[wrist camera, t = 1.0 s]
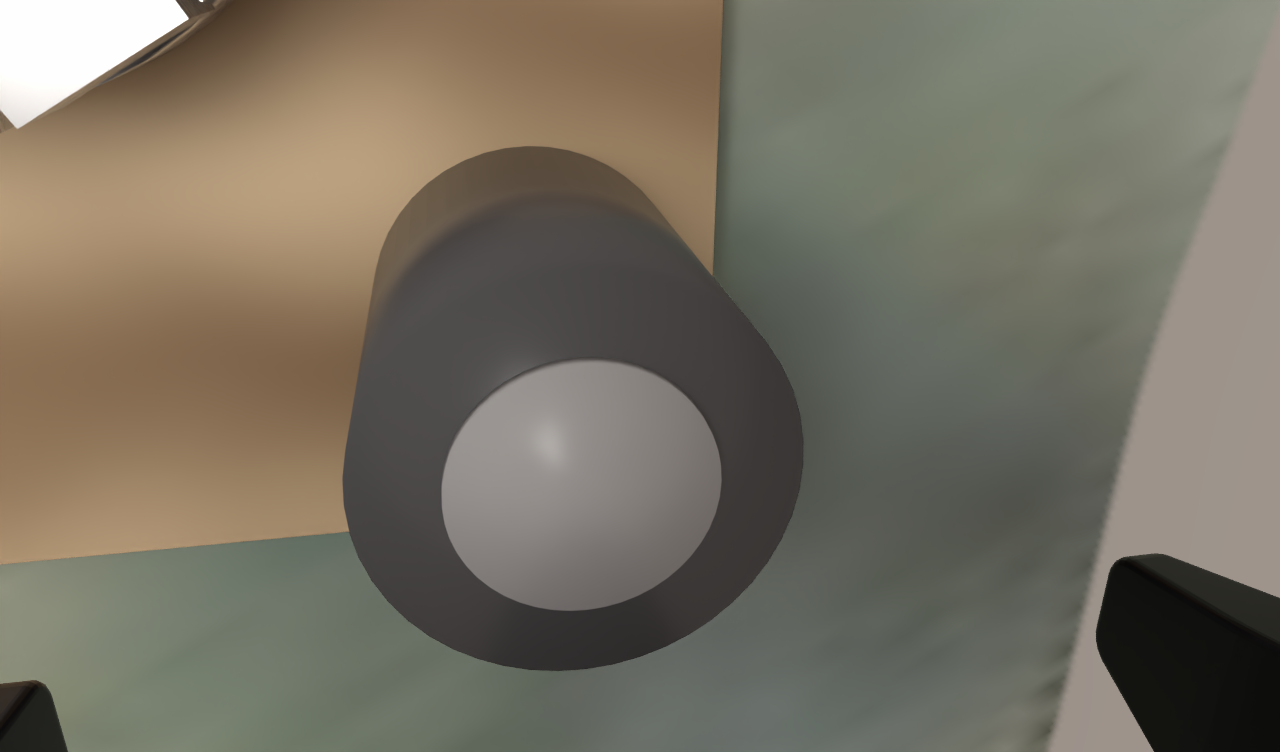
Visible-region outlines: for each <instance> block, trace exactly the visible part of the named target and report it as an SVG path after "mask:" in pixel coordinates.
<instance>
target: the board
mask: <svg viewBox="0 0 1280 752" xmlns="http://www.w3.org/2000/svg"><path fill="white" fill-rule="evenodd" d="M722 16H723V0H233V1H232V2H231V3H230V4H229V5H228V6H227V7H226V8H225V9H224V10H223V11H222V12H221V13H220V14H219V15H218V16H217V17H216V18H215V19H214V20H213V21H212V22H210V23H209V24H208V25H206V26H205V27H204V28H202V29H201V30H200V31H198V32H197V33H196V34H194V35H193V36H192V37H191V38H189V39H188V40H187V41H185V42H184V43H183V44H181V45H180V46H178V47H176V48H174V49H172V50H171V51H169V52H167V53H165V54H163V55H161V56H160V57H158V58H156V59H154V60H152V61H150V62H149V63H147V64H145V65H143V66H141V67H139V68H137V69H135V70H132V71H130V72H128V73H126V74H124V75H121V76H119V77H117V78H115V79H113V80H111V81H108V82H106V83H104V84H102V85H100V86H97V87H94V88H93V89H91V90H90V91H88V92H87V93H85V94H84V95H82V96H80V97H79V98H77V99H76V100H74V101H73V102H71V103H70V104H68V105H66V106H65V107H63V108H61V109H59V110H57V111H55V112H53V113H51V114H48V115H46V116H44V117H42V118H40V119H38V120H36V121H34V122H32V123H29V124H27V125H25V126H23V127H21V128H19V129H17V128H16V127H13V128H11V129H9V130H7V131H5V132H2V133H0V564H9V563H20V562H31V561H41V560H52V559H63V558H73V557H84V556H95V555H105V554H116V553H127V552H137V551H148V550H159V549H169V548H180V547H191V546H201V545H212V544H223V543H233V542H244V541H255V540H265V539H276V538H287V537H297V536H308V535H319V534H329V533H340V532H349V529H348V524H347V519H346V514H345V510H344V501H343V482H342V477H343V467H344V457H345V449H346V443H347V437H348V431H349V425H350V419H351V413H352V407H353V401H354V395H355V389H356V383H357V377H358V371H359V366H360V360H361V354H362V348H363V342H364V336H365V330H366V324H367V318H368V312H369V306H370V300H371V294H372V288H373V282H374V276H375V271H376V267H377V263H378V259H379V255H380V251H381V249H382V246H383V244H384V241H385V239H386V237H387V234H388V232H389V230H390V229H391V227H392V225H393V224H394V222H395V220H396V218H397V217H398V215H399V214H400V212H401V211H402V210H403V209H404V207H405V206H406V205H407V204H408V202H409V201H410V200H411V199H412V197H414V196H415V195H416V194H417V193H418V192H419V191H420V190H421V189H422V188H423V187H424V186H425V185H426V184H427V183H428V182H430V181H431V180H433V179H434V178H435V177H437V176H438V175H440V174H441V173H442V172H444V171H445V170H447V169H449V168H451V167H453V166H455V165H456V164H458V163H460V162H462V161H464V160H467V159H469V158H472V157H475V156H477V155H480V154H483V153H486V152H490V151H495V150H499V149H503V148H511V147H522V146H539V147H552V148H558V149H564V150H569V151H573V152H576V153H579V154H582V155H586V156H589V157H591V158H593V159H595V160H598V161H600V162H602V163H604V164H606V165H608V166H610V167H611V168H613V169H614V170H616V171H618V172H619V173H621V174H622V175H624V176H625V177H627V178H628V179H629V180H630V181H631V182H632V183H634V184H635V185H636V186H637V187H638V188H639V189H641V190H642V192H643V193H644V194H645V195H646V196H647V197H648V198H649V199H650V201H651V202H652V203H653V204H654V205H655V206H656V208H657V209H658V210H659V211H660V212H661V214H662V215H663V216H664V217H665V219H666V220H667V221H668V222H669V224H670V225H671V226H672V227H673V228H674V230H675V231H676V232H677V233H678V235H679V236H680V237H681V238H682V239H683V241H684V242H685V243H686V244H687V246H688V247H689V248H690V249H691V250H692V252H693V253H694V254H695V255H696V257H697V258H698V259H699V260H700V262H701V263H702V264H703V265H704V266H705V268H706V269H707V270H708V271H709V273H710V274H711V275H712V276H713V257H714V230H715V203H716V177H717V150H718V123H719V96H720V70H721V43H722Z"/></svg>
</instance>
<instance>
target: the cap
mask: <svg viewBox="0 0 1280 752" xmlns="http://www.w3.org/2000/svg"><path fill="white" fill-rule="evenodd" d="M802 469H803V434H802V426H801V419H800V413H799V409H798V406H797V402H796V399H795V396H794V392H793V389H792V387H791V385H790V382H789V380H788V378H787V376H786V374H785V372H784V369H783V367H782V365H781V364H780V362H779V361H778V359H777V357H776V356H775V354H774V353H773V351H772V350H771V348H770V347H769V345H768V344H767V342H766V341H765V340H764V339H763V337H762V336H761V335H760V334H759V333H758V331H757V330H756V329H755V328H754V326H753V325H752V324H751V323H750V322H749V320H748V319H747V318H746V317H745V315H744V314H743V313H742V312H741V311H740V309H739V308H738V307H737V306H736V304H735V303H734V302H733V301H732V300H731V298H730V297H729V296H728V295H727V293H726V292H725V291H724V290H723V288H722V287H721V286H720V285H719V284H718V282H717V281H716V280H715V279H714V277H713V276H712V275H711V274H710V273H709V271H708V270H707V269H706V268H705V266H704V265H703V264H702V263H701V262H700V260H699V259H698V258H697V257H696V255H695V254H694V253H693V252H692V250H691V249H690V248H689V247H688V246H687V244H686V243H685V242H684V241H683V239H682V238H681V237H680V236H679V235H678V233H677V232H676V231H675V230H674V228H673V227H672V226H671V225H670V224H669V222H668V221H667V220H666V219H665V217H664V216H663V215H662V214H661V212H660V211H659V210H658V209H657V208H656V206H655V205H654V204H653V203H652V202H651V201H650V199H649V198H648V197H647V196H646V195H645V194H644V193H643V192H642V190H641V189H639V188H638V187H637V186H636V185H635V184H634V183H632V182H631V181H630V180H629V179H628V178H627V177H625V176H624V175H622V174H621V173H619V172H618V171H616V170H614V169H613V168H611V167H610V166H608V165H606V164H604V163H602V162H600V161H598V160H595V159H593V158H591V157H589V156H586V155H582V154H579V153H576V152H573V151H569V150H564V149H558V148H552V147H539V146H522V147H511V148H503V149H499V150H495V151H490V152H486V153H483V154H480V155H477V156H475V157H472V158H469V159H467V160H464V161H462V162H460V163H458V164H456V165H455V166H453V167H451V168H449V169H447V170H445V171H444V172H442V173H441V174H440V175H438V176H437V177H435V178H434V179H433V180H431V181H430V182H428V183H427V184H426V185H425V186H424V187H423V188H422V189H421V190H420V191H419V192H418V193H417V194H416V195H415V196H414V197H412V199H411V200H410V201H409V202H408V204H407V205H406V206H405V207H404V209H403V210H402V211H401V212H400V214H399V215H398V217H397V218H396V220H395V222H394V224H393V225H392V227H391V229H390V230H389V232H388V234H387V237H386V239H385V241H384V244H383V246H382V249H381V251H380V255H379V259H378V263H377V267H376V271H375V276H374V282H373V288H372V294H371V300H370V306H369V312H368V318H367V324H366V330H365V336H364V342H363V348H362V354H361V360H360V366H359V371H358V377H357V383H356V389H355V395H354V401H353V407H352V413H351V419H350V425H349V431H348V437H347V443H346V449H345V457H344V467H343V477H342V482H343V501H344V510H345V514H346V519H347V524H348V529H349V533H350V536H351V538H352V541H353V544H354V546H355V549H356V551H357V554H358V557H359V559H360V561H361V562H362V564H363V566H364V568H365V569H366V571H367V573H368V575H369V576H370V578H371V580H372V582H373V583H374V584H375V585H376V587H377V588H378V589H379V591H380V592H381V593H382V594H383V596H384V597H385V598H386V599H387V601H388V602H389V603H390V604H391V605H392V606H393V607H394V608H395V609H396V610H397V611H398V612H399V613H400V614H402V615H403V616H404V617H405V618H406V619H407V620H408V621H409V622H411V623H412V624H413V625H415V626H416V627H417V628H419V629H420V630H422V631H423V632H424V633H426V634H427V635H428V636H430V637H432V638H434V639H436V640H437V641H439V642H441V643H443V644H445V645H446V646H448V647H450V648H452V649H454V650H457V651H459V652H462V653H464V654H467V655H469V656H472V657H474V658H477V659H480V660H484V661H488V662H492V663H495V664H499V665H503V666H509V667H516V668H522V669H529V670H550V671H563V670H578V669H589V668H594V667H600V666H606V665H612V664H616V663H619V662H623V661H627V660H630V659H634V658H637V657H640V656H643V655H646V654H648V653H651V652H653V651H656V650H658V649H661V648H663V647H666V646H668V645H669V644H671V643H673V642H675V641H677V640H679V639H681V638H683V637H685V636H687V635H689V634H690V633H692V632H693V631H695V630H696V629H698V628H699V627H701V626H703V625H704V624H706V623H707V622H709V621H710V620H712V619H713V618H714V617H715V616H717V615H718V614H719V613H720V612H721V611H723V610H724V609H725V608H726V607H727V606H729V605H730V604H731V603H732V602H733V601H734V600H735V599H736V598H737V597H738V596H739V595H740V594H741V593H742V592H743V591H744V590H745V589H746V588H747V587H748V586H749V585H750V584H751V583H752V582H753V580H754V579H755V578H756V577H757V575H758V574H759V573H760V571H761V570H762V569H763V567H764V566H765V565H766V564H767V562H768V561H769V559H770V557H771V556H772V554H773V552H774V551H775V549H776V547H777V546H778V544H779V542H780V541H781V539H782V537H783V534H784V532H785V530H786V528H787V525H788V523H789V521H790V519H791V516H792V513H793V510H794V506H795V503H796V500H797V496H798V493H799V488H800V482H801V475H802Z"/></svg>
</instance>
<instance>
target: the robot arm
mask: <svg viewBox="0 0 1280 752" xmlns="http://www.w3.org/2000/svg"><path fill="white" fill-rule="evenodd" d="M1096 642H1097V647H1098V651H1099V654H1100V656H1101V659H1102V661H1103V663H1104V664H1105V666H1106V668H1107V670H1108V672H1109V673H1110V675H1111V677H1112V679H1113V680H1114V682H1115V684H1116V685H1117V687H1118V689H1119V691H1120V693H1121V694H1122V696H1123V698H1124V700H1125V701H1126V703H1127V705H1128V707H1129V708H1130V710H1131V712H1132V714H1133V715H1134V717H1135V719H1136V721H1137V723H1138V724H1139V726H1140V728H1141V729H1142V731H1143V733H1144V735H1145V737H1146V738H1147V740H1148V742H1149V744H1150V745H1151V747H1152V749H1153V751H1154V752H1280V598H1278V597H1276V596H1273V595H1270V594H1268V593H1265V592H1263V591H1260V590H1257V589H1254V588H1252V587H1249V586H1247V585H1244V584H1241V583H1239V582H1236V581H1233V580H1231V579H1228V578H1226V577H1223V576H1220V575H1218V574H1215V573H1212V572H1210V571H1207V570H1204V569H1202V568H1199V567H1197V566H1194V565H1191V564H1189V563H1186V562H1184V561H1181V560H1178V559H1175V558H1173V557H1170V556H1168V555H1164V554H1147V555H1138V556H1129V557H1123V558H1121V559H1119V560H1117V561H1116V562H1115V563H1114V564H1113V566H1112V567H1111V569H1110V572H1109V575H1108V580H1107V584H1106V588H1105V593H1104V597H1103V602H1102V606H1101V611H1100V615H1099V619H1098V624H1097V629H1096ZM0 752H68V750H67V747H66V743H65V740H64V736H63V733H62V729H61V726H60V722H59V719H58V715H57V712H56V709H55V705H54V702H53V698H52V696H51V693H50V691H49V689H48V688H47V687H46V685H45V684H43V683H41V682H39V681H37V680H31V681H22V682H13V683H4V684H0Z"/></svg>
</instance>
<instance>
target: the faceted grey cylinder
mask: <svg viewBox="0 0 1280 752" xmlns="http://www.w3.org/2000/svg"><path fill="white" fill-rule="evenodd" d="M232 1H233V0H0V133H2V132H5V131H7V130H9V129H11V128H13V127H16V128H17V129H19V128H21V127H23V126H25V125H27V124H29V123H32V122H34V121H36V120H38V119H40V118H42V117H44V116H46V115H48V114H51V113H53V112H55V111H57V110H59V109H61V108H63V107H65V106H66V105H68V104H70V103H71V102H73V101H74V100H76V99H77V98H79V97H80V96H82V95H84V94H85V93H87V92H88V91H90V90H91V89H93V88H94V87H97V86H100V85H102V84H104V83H106V82H108V81H111V80H113V79H115V78H117V77H119V76H121V75H124V74H126V73H128V72H130V71H132V70H135V69H137V68H139V67H141V66H143V65H145V64H147V63H149V62H150V61H152V60H154V59H156V58H158V57H160V56H161V55H163V54H165V53H167V52H169V51H171V50H172V49H174V48H176V47H178V46H180V45H181V44H183V43H184V42H185V41H187V40H188V39H189V38H191V37H192V36H193V35H194V34H196V33H197V32H198V31H200V30H201V29H202V28H204V27H205V26H206V25H208V24H209V23H210V22H212V21H213V20H214V19H215V18H216V17H217V16H218V15H219V14H220V13H221V12H222V11H223V10H224V9H225V8H226V7H227V6H228V5H229V4H230V3H231V2H232Z"/></svg>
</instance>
